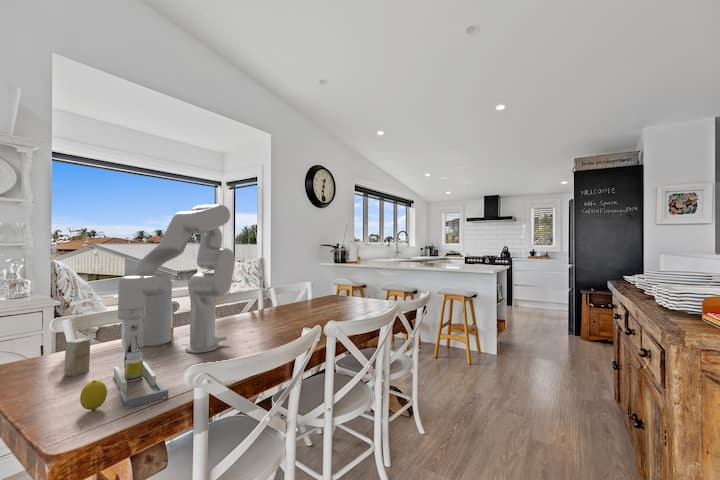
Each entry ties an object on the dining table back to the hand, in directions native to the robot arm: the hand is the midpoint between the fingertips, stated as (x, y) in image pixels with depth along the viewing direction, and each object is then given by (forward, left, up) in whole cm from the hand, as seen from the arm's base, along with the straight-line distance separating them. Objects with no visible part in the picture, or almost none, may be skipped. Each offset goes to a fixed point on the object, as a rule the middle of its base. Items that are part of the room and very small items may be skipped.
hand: (130, 368), depth 112 cm
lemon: (+11, +22, -2) cm, 25 cm away
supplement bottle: (0, +5, -2) cm, 6 cm away
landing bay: (0, +20, -2) cm, 21 cm away
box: (+13, -13, -2) cm, 18 cm away
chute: (0, +6, -2) cm, 7 cm away
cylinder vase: (-14, -35, -2) cm, 38 cm away
